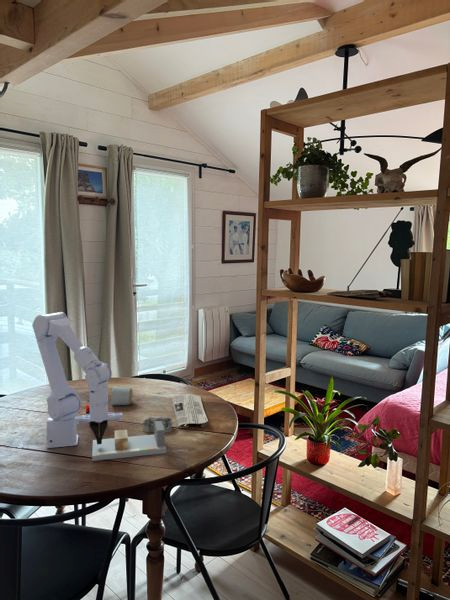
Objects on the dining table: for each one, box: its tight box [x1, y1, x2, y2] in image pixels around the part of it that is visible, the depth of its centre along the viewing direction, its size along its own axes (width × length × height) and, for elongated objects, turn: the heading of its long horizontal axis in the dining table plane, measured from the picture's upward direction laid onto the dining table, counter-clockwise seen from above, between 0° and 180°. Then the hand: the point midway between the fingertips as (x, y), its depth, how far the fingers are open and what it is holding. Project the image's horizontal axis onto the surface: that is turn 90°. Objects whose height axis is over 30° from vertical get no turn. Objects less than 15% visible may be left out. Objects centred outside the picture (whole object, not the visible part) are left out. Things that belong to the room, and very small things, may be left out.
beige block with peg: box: [114, 429, 129, 451], centre depth 143 cm, size 4×9×4 cm, turn 16°
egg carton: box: [142, 416, 173, 433], centre depth 161 cm, size 11×8×4 cm
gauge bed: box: [91, 421, 167, 462], centre depth 144 cm, size 23×12×7 cm, turn 106°
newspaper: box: [171, 393, 209, 429], centre depth 179 cm, size 35×12×4 cm, turn 11°
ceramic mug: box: [110, 386, 134, 406], centre depth 187 cm, size 11×8×8 cm
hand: (99, 443), depth 142 cm, fingers closed
